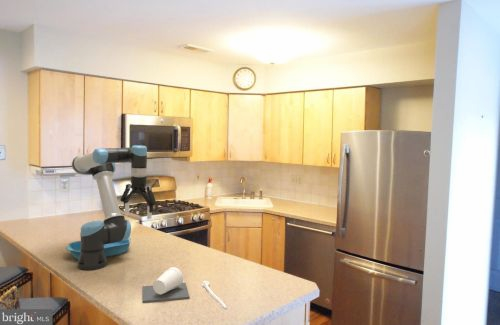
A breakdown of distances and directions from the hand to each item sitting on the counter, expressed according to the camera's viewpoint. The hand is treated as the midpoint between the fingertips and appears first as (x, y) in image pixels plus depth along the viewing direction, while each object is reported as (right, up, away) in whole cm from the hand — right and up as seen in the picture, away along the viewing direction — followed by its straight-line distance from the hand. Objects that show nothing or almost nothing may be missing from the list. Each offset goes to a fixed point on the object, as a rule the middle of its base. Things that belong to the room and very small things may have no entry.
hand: (138, 217), depth 198 cm
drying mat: (+19, -32, -22) cm, 43 cm away
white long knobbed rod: (+42, -33, -23) cm, 58 cm away
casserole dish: (-32, -27, +31) cm, 52 cm away
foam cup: (+18, -27, -29) cm, 43 cm away
